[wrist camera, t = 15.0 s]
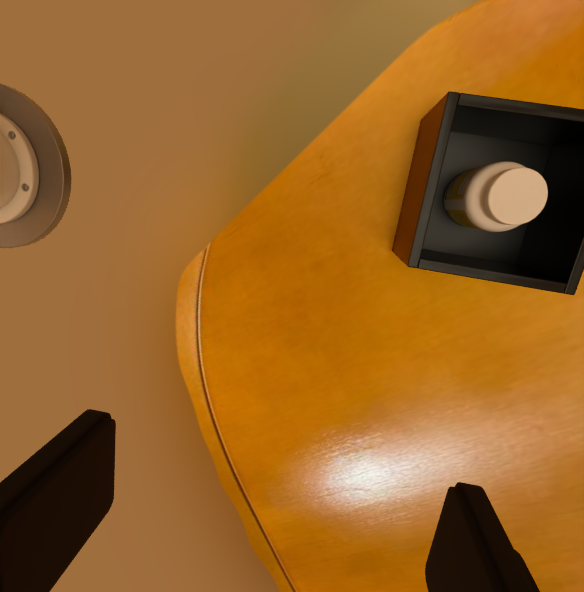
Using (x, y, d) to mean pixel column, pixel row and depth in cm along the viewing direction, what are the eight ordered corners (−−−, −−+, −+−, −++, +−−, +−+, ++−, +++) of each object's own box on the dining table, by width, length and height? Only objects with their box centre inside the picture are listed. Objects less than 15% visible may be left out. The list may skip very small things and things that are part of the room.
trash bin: (391, 250, 40) (407, 266, 30) (420, 119, 36) (448, 91, 27) (517, 272, 38) (574, 295, 29) (559, 139, 35) (639, 116, 26)
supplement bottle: (503, 222, 37) (559, 230, 27) (444, 231, 38) (478, 241, 28) (501, 163, 36) (559, 150, 26) (440, 174, 36) (475, 164, 27)
